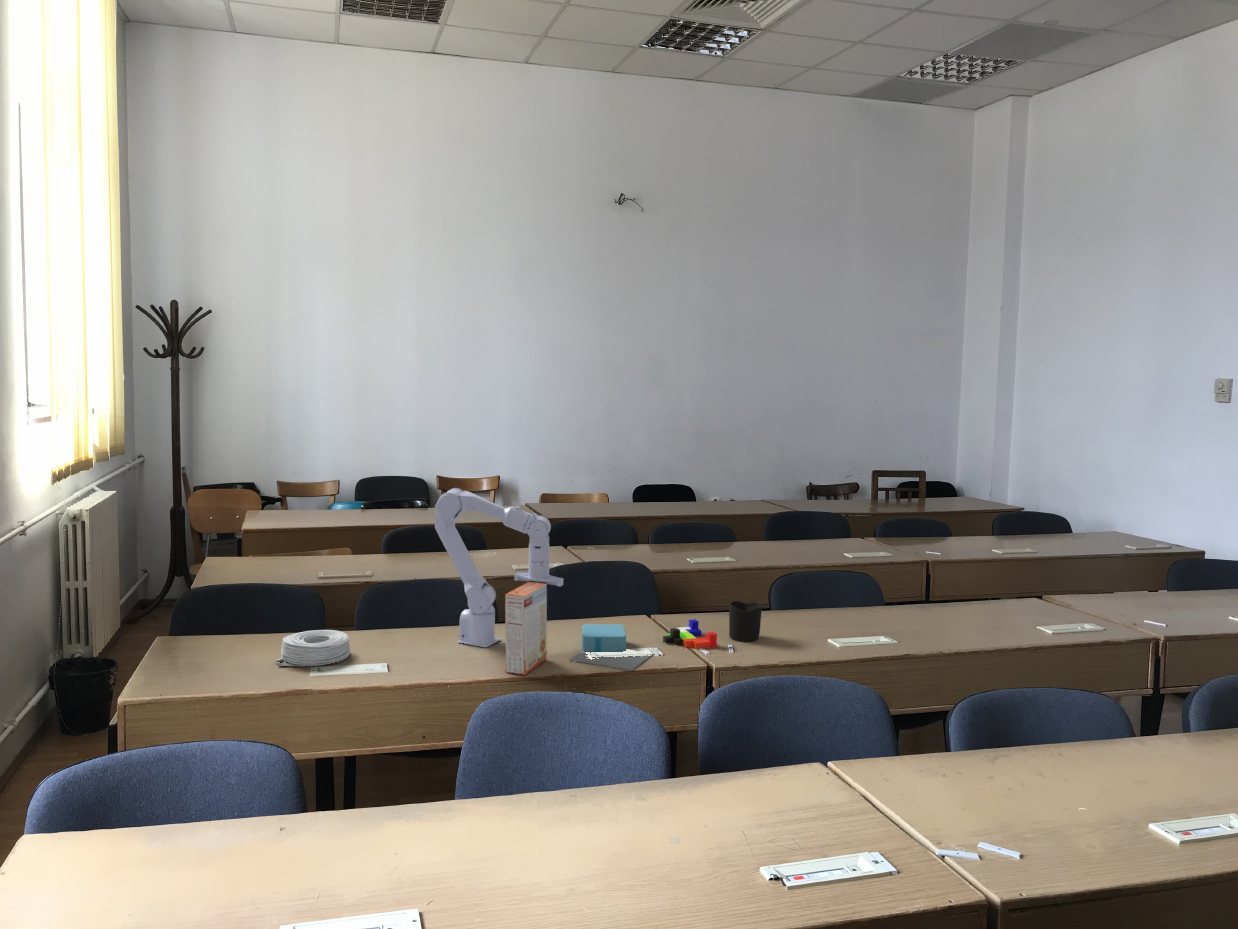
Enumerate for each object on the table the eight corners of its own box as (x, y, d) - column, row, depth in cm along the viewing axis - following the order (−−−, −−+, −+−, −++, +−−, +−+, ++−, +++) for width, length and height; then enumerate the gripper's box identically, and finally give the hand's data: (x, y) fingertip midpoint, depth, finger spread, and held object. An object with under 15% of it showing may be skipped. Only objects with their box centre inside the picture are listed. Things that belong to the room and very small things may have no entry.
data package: (582, 652, 258) (626, 652, 259) (582, 636, 258) (626, 636, 258) (581, 639, 270) (623, 639, 271) (582, 623, 269) (624, 624, 270)
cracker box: (526, 656, 254) (527, 580, 252) (547, 659, 252) (548, 583, 250) (503, 673, 241) (504, 593, 239) (524, 676, 239) (525, 595, 237)
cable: (271, 668, 241) (270, 645, 241) (293, 647, 259) (293, 625, 258) (340, 669, 242) (339, 646, 241) (357, 648, 259) (357, 626, 258)
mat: (569, 660, 252) (569, 659, 252) (594, 644, 266) (594, 643, 266) (631, 671, 245) (631, 670, 245) (654, 653, 259) (654, 652, 259)
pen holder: (744, 644, 269) (746, 610, 268) (721, 636, 277) (722, 603, 276) (767, 639, 275) (768, 605, 274) (743, 631, 283) (745, 598, 281)
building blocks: (654, 636, 276) (655, 622, 276) (695, 633, 281) (695, 619, 280) (674, 652, 262) (674, 637, 262) (716, 648, 267) (717, 633, 266)
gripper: (568, 560, 263) (568, 608, 265) (523, 555, 269) (522, 601, 270) (557, 565, 257) (556, 614, 258) (510, 559, 262) (510, 607, 264)
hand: (538, 608), depth 264 cm, fingers closed
